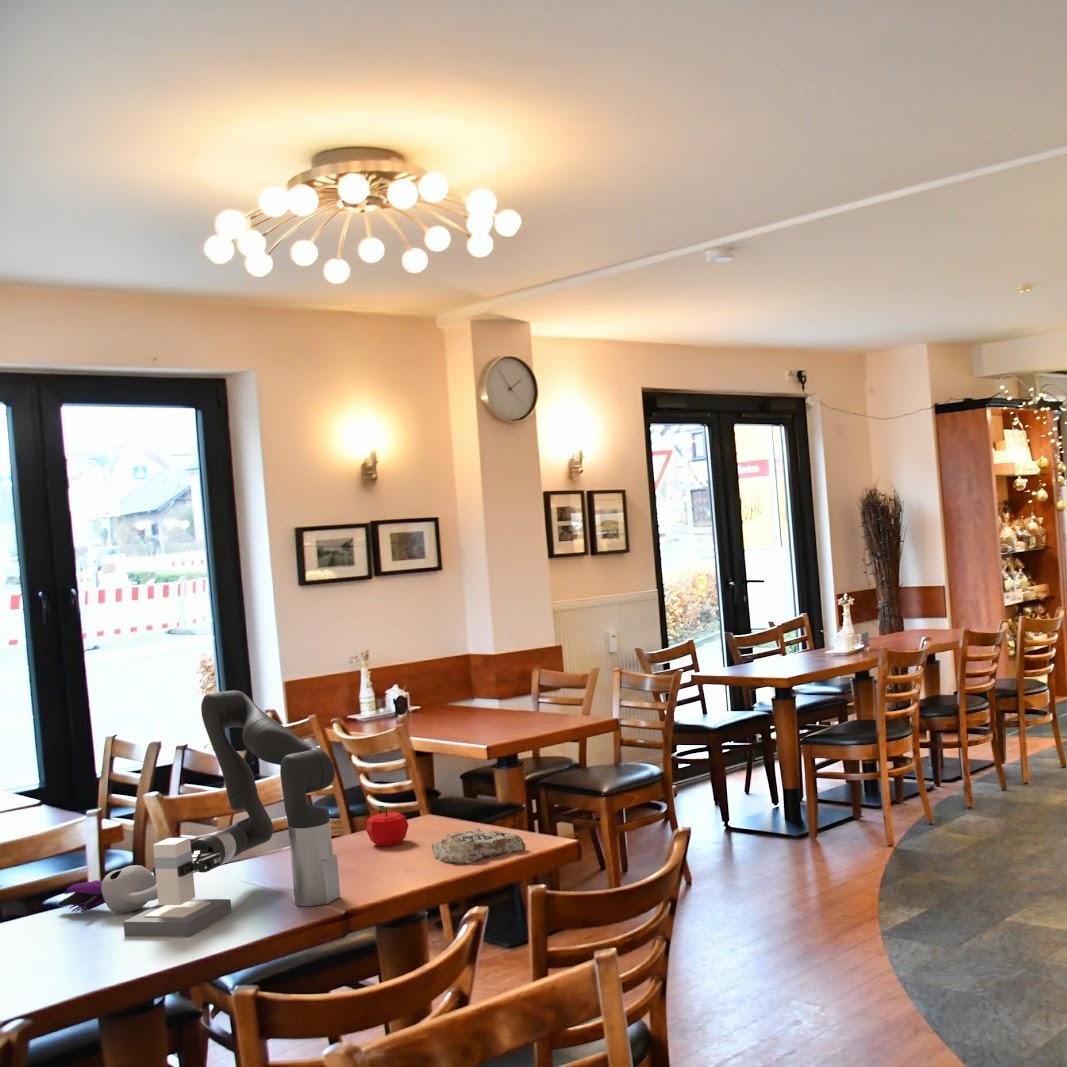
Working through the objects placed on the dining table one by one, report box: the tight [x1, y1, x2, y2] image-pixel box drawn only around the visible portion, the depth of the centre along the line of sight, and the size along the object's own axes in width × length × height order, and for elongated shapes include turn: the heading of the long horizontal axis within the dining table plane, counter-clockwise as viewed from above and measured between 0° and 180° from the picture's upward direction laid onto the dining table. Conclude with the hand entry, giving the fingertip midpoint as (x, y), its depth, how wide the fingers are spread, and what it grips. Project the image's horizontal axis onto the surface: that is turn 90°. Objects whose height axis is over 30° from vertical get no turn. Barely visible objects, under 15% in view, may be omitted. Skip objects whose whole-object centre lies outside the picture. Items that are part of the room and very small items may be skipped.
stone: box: [430, 827, 526, 865], centre depth 300 cm, size 19×6×25 cm
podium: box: [122, 898, 232, 938], centre depth 259 cm, size 16×16×3 cm
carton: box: [152, 837, 196, 905], centre depth 259 cm, size 6×6×13 cm
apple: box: [365, 805, 409, 848], centre depth 317 cm, size 11×11×10 cm
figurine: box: [58, 864, 158, 914], centre depth 275 cm, size 16×10×30 cm
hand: (167, 872), depth 257 cm, fingers closed on carton, 5 cm apart
